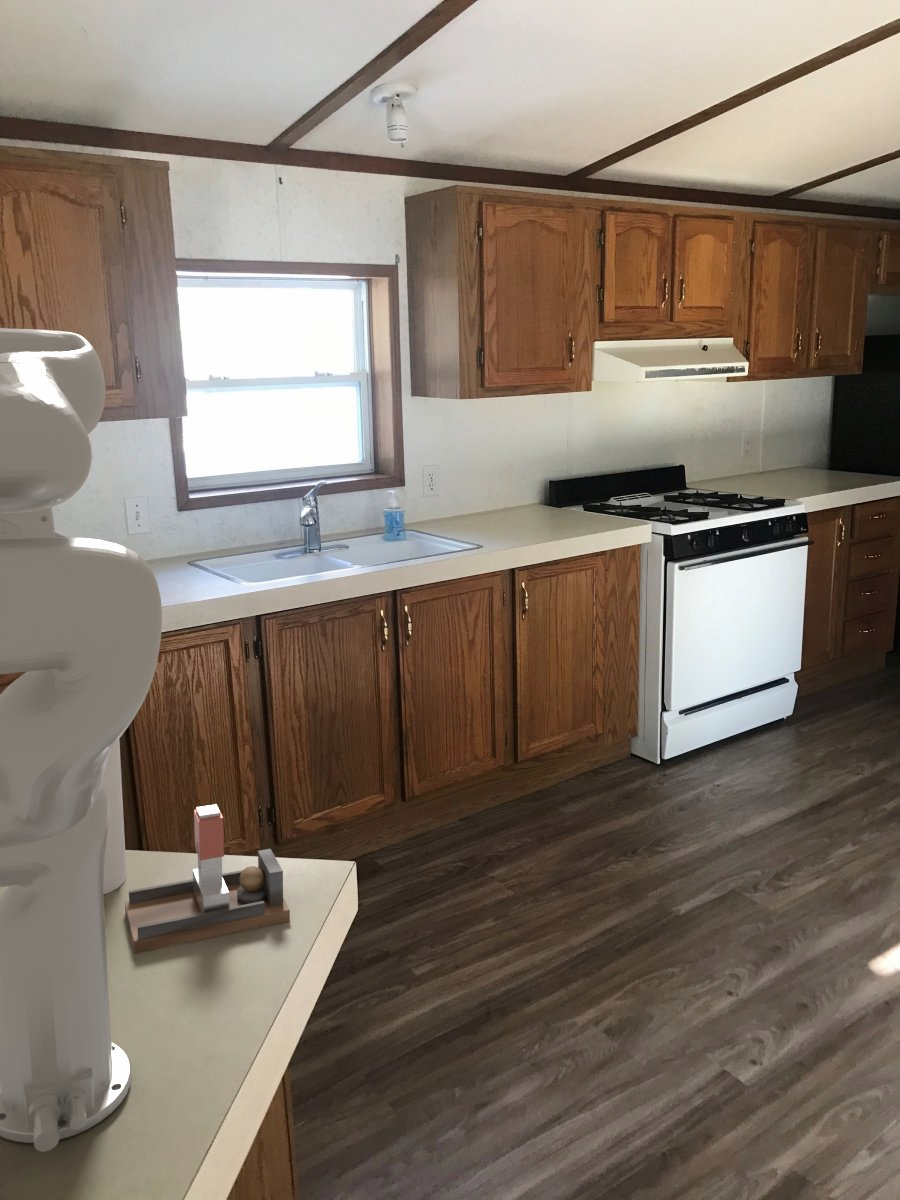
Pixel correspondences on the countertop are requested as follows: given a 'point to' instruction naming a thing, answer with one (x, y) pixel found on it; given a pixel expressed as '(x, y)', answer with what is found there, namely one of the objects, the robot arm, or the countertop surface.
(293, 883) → the countertop surface
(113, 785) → the cylinder container
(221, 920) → the nutcracker board
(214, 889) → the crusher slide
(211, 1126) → the countertop surface
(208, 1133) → the countertop surface
